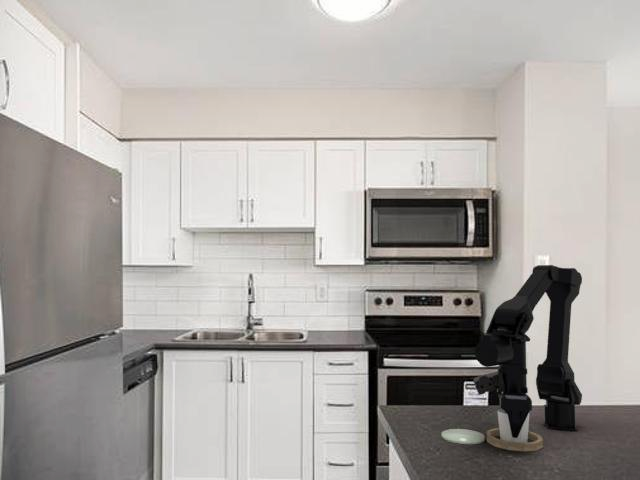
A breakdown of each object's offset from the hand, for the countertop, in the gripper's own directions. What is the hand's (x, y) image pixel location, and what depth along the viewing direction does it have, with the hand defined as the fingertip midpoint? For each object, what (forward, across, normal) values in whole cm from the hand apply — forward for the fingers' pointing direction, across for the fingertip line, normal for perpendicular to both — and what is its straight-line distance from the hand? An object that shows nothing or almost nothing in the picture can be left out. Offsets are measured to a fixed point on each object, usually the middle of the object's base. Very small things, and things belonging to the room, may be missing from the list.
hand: (513, 433), depth 117 cm
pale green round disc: (+2, 0, -11) cm, 11 cm away
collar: (+2, 0, 0) cm, 2 cm away
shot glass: (+2, 0, 0) cm, 2 cm away
